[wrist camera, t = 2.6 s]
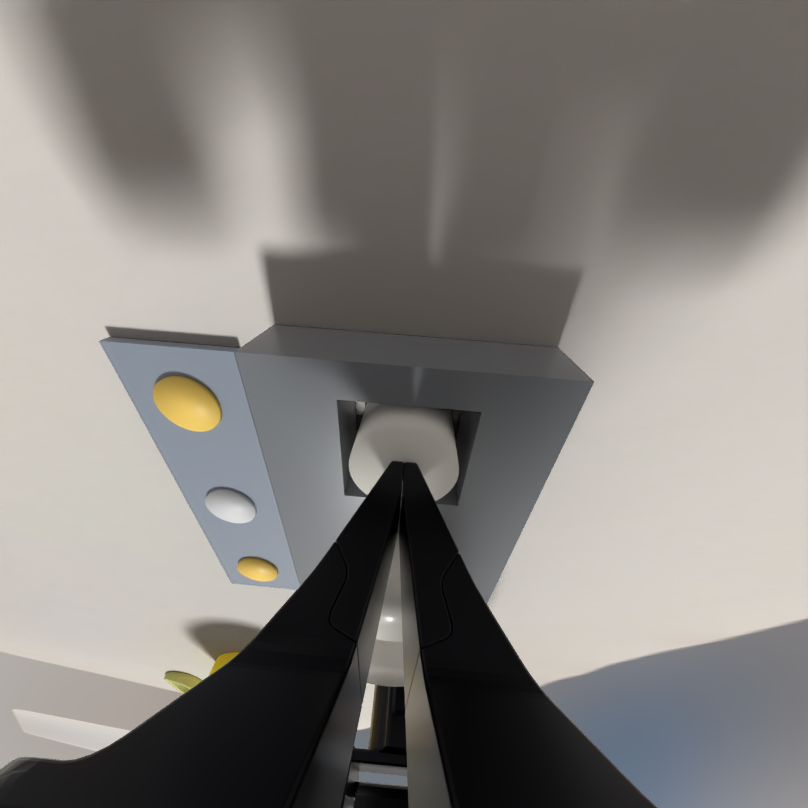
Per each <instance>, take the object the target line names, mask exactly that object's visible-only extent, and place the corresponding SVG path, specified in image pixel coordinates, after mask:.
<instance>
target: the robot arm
mask: <svg viewBox="0 0 808 808" xmlns="http://www.w3.org/2000/svg"><path fill="white" fill-rule="evenodd" d="M403 472H404V473H403ZM402 483H403V485H402ZM401 495H402V497H401ZM400 507H401V509H400ZM399 519H400V521H399ZM398 528H399V551H400V580H401V608H402V636H403V664H404V686H402V687H390V686H380V685H375V690H374V700H373V709H372V718H371V727H370V737H369V747H368V749H367V750H366V749H356V748H355V747H354V741H355V736H356V732H357V727H358V722H359V717H360V712H361V708H362V705H361V704H362V703H363V698H364V693H365V688H366V683H367V679H368V674H369V669H370V664H371V659H372V655H373V650H374V645H375V640H376V635H377V631H378V626H379V621H380V616H381V611H382V607H383V602H384V597H385V592H386V587H387V583H388V578H389V573H390V568H391V564H392V559H393V554H394V549H395V544H396V540H397V534H398ZM359 771H361V772H371V773H381V774H391V775H402V776H407V777H408V786H398V785H388V784H379V783H369V782H359V781H358V778H359ZM0 808H658V807H656V806H655V805H654V804H653V803H652V802H651V801H650V800H649V799H648V798H647V797H646V796H645V795H643V794H642V793H641V792H640V791H639V790H638V789H637V788H636V787H635V786H634V785H633V784H632V782H631V781H630V780H629V779H627V777H626V776H625V775H624V774H623V773H622V772H621V771H620V770H619V769H618V768H617V767H616V766H615V765H614V764H613V763H612V762H611V761H610V760H609V759H608V758H607V757H606V756H605V755H604V754H603V753H602V752H601V751H600V750H599V749H598V748H597V747H596V746H595V745H594V743H593V742H592V741H591V740H590V739H588V738H587V736H586V735H585V734H584V733H583V732H582V731H581V730H580V729H579V728H578V727H577V726H576V725H575V724H574V723H573V722H572V721H571V720H570V719H569V718H568V717H567V716H566V715H565V714H564V713H563V712H562V711H561V710H560V709H559V708H558V707H557V706H556V705H555V703H553V702H552V700H550V698H549V697H548V696H547V695H546V694H545V693H544V691H543V690H542V689H541V688H540V687H539V685H538V684H537V683H536V681H535V680H534V679H533V677H532V676H531V675H530V673H529V672H528V670H527V669H526V667H525V666H524V664H523V663H522V661H521V659H520V658H519V656H518V655H517V653H516V651H515V650H514V648H513V646H512V645H511V643H510V642H509V640H508V638H507V637H506V635H505V633H504V632H503V630H502V628H501V627H500V625H499V624H498V622H497V620H496V619H495V617H494V615H493V614H492V612H491V610H490V609H489V607H488V606H487V604H486V602H485V600H484V599H483V597H482V595H481V593H480V592H479V590H478V588H477V587H476V585H475V583H474V581H473V579H472V577H471V575H470V573H469V571H468V569H467V567H466V565H465V563H464V561H463V559H462V556H461V555H460V554H459V550H458V548H457V546H456V544H455V542H454V540H453V538H452V536H451V534H450V531H449V529H448V527H447V525H446V523H445V521H444V519H443V517H442V515H441V512H440V510H439V508H438V506H437V504H436V502H435V500H434V498H433V496H432V493H431V491H430V489H429V487H428V485H427V483H426V481H425V479H424V477H423V474H422V472H421V470H420V468H419V466H418V464H417V463H414V462H405V463H404V462H402V461H391V462H390V464H389V465H388V467H387V468H386V470H385V471H384V472H383V474H382V475H381V477H380V478H379V479H378V481H377V482H376V484H375V485H374V487H373V488H372V489H371V491H370V492H369V494H368V495H367V496H366V498H365V499H364V501H363V502H362V504H361V505H360V506H359V508H358V509H357V511H356V512H355V513H354V515H353V516H352V518H351V519H350V521H349V522H348V523H347V525H346V526H345V528H344V529H343V530H342V532H341V533H340V535H339V536H338V538H337V539H336V542H334V543H333V544H332V546H331V547H330V549H329V550H328V551H327V553H326V554H325V556H324V557H323V558H322V560H321V561H320V562H319V564H318V565H317V566H316V568H315V569H314V570H313V571H312V573H311V574H310V575H309V576H308V577H307V579H306V580H305V581H304V582H303V583H302V584H301V586H300V587H299V588H298V589H297V590H296V591H295V593H294V594H293V595H292V596H291V597H290V598H289V599H288V601H287V602H286V603H285V604H284V605H283V606H282V607H281V608H280V610H279V611H278V612H277V613H276V614H275V615H274V616H273V617H272V619H271V620H270V621H269V622H268V623H267V624H266V625H265V627H264V628H263V629H262V630H261V631H260V632H259V633H258V634H257V635H256V637H255V638H254V639H253V640H252V641H251V642H250V643H249V644H248V645H247V646H246V647H245V648H244V649H243V650H242V651H241V652H240V653H239V654H237V655H236V656H235V657H234V658H233V659H231V660H230V661H229V662H228V663H226V664H225V665H224V666H222V667H221V668H220V669H218V670H217V671H215V672H214V673H213V674H211V675H210V676H208V677H207V678H205V679H204V680H203V681H201V682H200V683H198V684H197V685H196V686H194V687H193V688H191V689H190V690H188V691H187V692H186V693H184V694H183V695H181V696H180V697H179V698H177V699H176V700H174V701H173V702H172V703H170V704H169V705H167V706H166V707H165V708H163V709H162V710H160V711H159V712H157V713H156V714H155V715H153V716H152V717H150V718H149V719H148V720H146V721H145V722H143V723H142V724H140V725H139V726H138V727H136V728H135V729H133V730H132V731H131V732H129V733H128V734H126V735H125V736H123V737H122V738H120V739H119V740H117V741H115V742H114V743H112V744H111V745H109V746H107V747H105V748H103V749H101V750H99V751H97V752H95V753H93V754H91V755H88V756H85V757H82V758H78V759H75V760H56V759H46V758H37V757H21V758H17V759H15V760H13V761H11V762H10V763H8V764H7V765H6V766H4V767H3V768H2V769H0Z"/></svg>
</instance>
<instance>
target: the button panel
mask: <svg viewBox="0 0 808 808" xmlns="http://www.w3.org/2000/svg"><path fill="white" fill-rule="evenodd" d="M235 356H236V359H237V363H238V366H239V370H240V373H241V377H242V380H243V384H244V387H245V391H246V395H247V398H248V402H249V405H250V409H251V412H252V416H253V419H254V423H255V426H256V430H257V434H258V437H259V441H260V444H261V448H262V451H263V455H264V458H265V462H266V466H267V469H268V473H269V476H270V480H271V483H272V487H273V490H274V494H275V497H276V501H277V505H278V508H279V512H280V515H281V519H282V522H283V526H284V529H285V533H286V536H287V540H288V544H289V547H290V551H291V554H292V558H293V561H294V565H295V568H296V572H297V575H298V579H299V583H300V586H301V584H302V583H303V582H304V581H305V580H306V579H307V577H308V576H309V575H310V574H311V573H312V571H313V570H314V569H315V568H316V566H317V565H318V564H319V562H320V561H321V560H322V558H323V557H324V556H325V554H326V553H327V551H328V550H329V549H330V547H331V546H332V544H333V543H334V542H336V539H337V538H338V536H339V535H340V533H341V532H342V530H343V529H344V528H345V526H346V525H347V523H348V522H349V521H350V519H351V518H352V516H353V515H354V513H355V512H356V511H357V509H358V508H359V506H360V505H361V504H362V502H363V501H364V499H365V498H366V496H367V494H365V493H364V492H363V491H362V490H360V489H359V487H358V486H357V485H356V484H355V482H354V481H353V479H352V477H351V474H350V471H349V458H350V454H351V451H352V448H353V445H354V442H355V439H356V436H357V431H356V406H355V401H359V402H371V403H383V404H394V405H406V406H418V407H430V408H441V409H453V410H463V413H462V417H461V422H460V427H459V432H458V436H457V441H456V449H457V457H458V464H459V475H458V479H457V481H456V483H455V485H454V487H453V488H452V489H451V490H450V491H449V492H448V493H447V494H446V495H445V496H443V497H442V498H440V499H438V500H437V501H435V502H436V504H437V506H438V508H439V510H440V512H441V515H442V517H443V519H444V521H445V523H446V525H447V527H448V529H449V531H450V534H451V536H452V538H453V540H454V542H455V544H456V546H457V548H458V550H459V554H460V555H461V556H462V559H463V561H464V563H465V565H466V567H467V569H468V571H469V573H470V575H471V577H472V579H473V581H474V583H475V585H476V587H477V588H478V590H479V592H480V593H481V595H482V597H483V599H484V600H485V602H486V604H487V602H488V600H489V598H490V596H491V594H492V592H493V590H494V588H495V586H496V584H497V582H498V580H499V578H500V575H501V573H502V571H503V569H504V567H505V565H506V563H507V561H508V559H509V557H510V555H511V553H512V551H513V549H514V546H515V544H516V542H517V540H518V538H519V536H520V534H521V532H522V530H523V528H524V526H525V524H526V522H527V520H528V517H529V515H530V513H531V511H532V509H533V507H534V505H535V503H536V501H537V499H538V497H539V495H540V493H541V491H542V489H543V486H544V484H545V482H546V480H547V478H548V476H549V474H550V472H551V470H552V468H553V466H554V464H555V462H556V460H557V457H558V455H559V453H560V451H561V449H562V447H563V445H564V443H565V441H566V439H567V437H568V435H569V433H570V431H571V429H572V426H573V424H574V422H575V420H576V418H577V416H578V414H579V412H580V410H581V408H582V406H583V404H584V402H585V400H586V397H587V395H588V393H589V391H590V389H591V387H592V385H593V383H594V381H593V380H592V379H591V378H590V377H589V376H588V375H587V374H586V373H584V372H583V371H582V370H581V369H580V368H579V367H578V366H577V365H576V364H575V363H574V362H573V361H572V360H571V359H570V358H569V357H568V356H567V355H566V354H565V353H563V352H562V351H561V350H560V349H559V348H558V347H546V346H533V345H521V344H508V343H496V342H483V341H471V340H459V339H446V338H434V337H421V336H409V335H396V334H384V333H372V332H359V331H347V330H334V329H322V328H309V327H297V326H285V325H273V326H272V327H270V328H269V329H267V330H266V331H264V332H263V333H261V334H260V335H258V336H257V337H256V338H254V339H253V340H251V341H250V342H248V343H247V344H245V345H244V346H242V347H241V348H240V349H238V350H237V351H235ZM400 509H401V507H400ZM399 521H400V519H399ZM398 533H399V528H398Z"/></svg>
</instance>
